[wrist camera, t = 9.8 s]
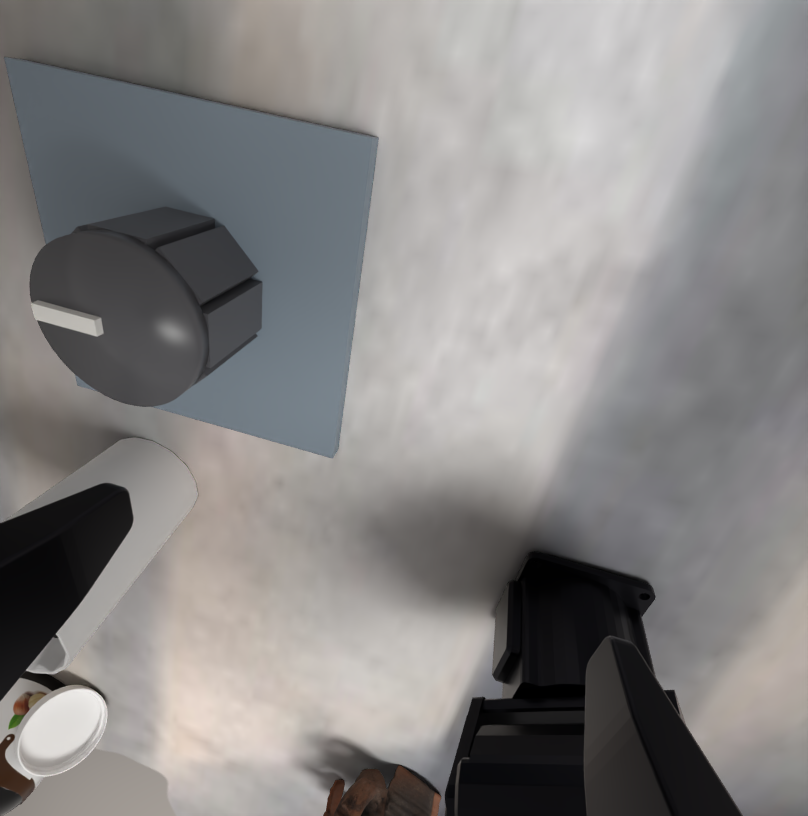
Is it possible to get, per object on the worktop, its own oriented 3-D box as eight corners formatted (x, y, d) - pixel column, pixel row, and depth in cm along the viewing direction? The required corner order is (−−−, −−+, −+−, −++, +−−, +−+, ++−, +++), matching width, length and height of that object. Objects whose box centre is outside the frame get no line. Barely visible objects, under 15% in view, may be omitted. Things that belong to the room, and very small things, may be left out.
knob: (263, 230, 18) (184, 262, 14) (260, 369, 22) (195, 429, 18) (118, 194, 19) (0, 215, 15) (137, 335, 22) (45, 385, 18)
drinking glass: (98, 413, 27) (-98, 546, 18) (208, 457, 27) (61, 610, 18) (104, 495, 30) (-57, 638, 22) (201, 534, 30) (76, 692, 22)
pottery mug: (462, 807, 43) (415, 920, 39) (385, 745, 49) (337, 837, 45) (411, 778, 35) (346, 914, 31) (327, 709, 41) (264, 816, 37)
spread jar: (-5, 675, 49) (-136, 811, 40) (14, 634, 43) (-134, 782, 34) (97, 733, 51) (-4, 876, 42) (129, 701, 45) (20, 860, 36)
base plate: (378, 137, 17) (341, 141, 13) (338, 449, 24) (307, 501, 21) (23, 59, 18) (-92, 44, 15) (89, 378, 25) (23, 417, 22)
